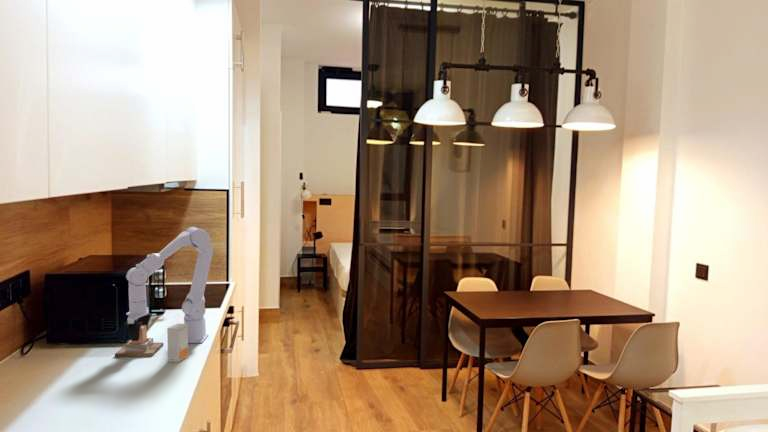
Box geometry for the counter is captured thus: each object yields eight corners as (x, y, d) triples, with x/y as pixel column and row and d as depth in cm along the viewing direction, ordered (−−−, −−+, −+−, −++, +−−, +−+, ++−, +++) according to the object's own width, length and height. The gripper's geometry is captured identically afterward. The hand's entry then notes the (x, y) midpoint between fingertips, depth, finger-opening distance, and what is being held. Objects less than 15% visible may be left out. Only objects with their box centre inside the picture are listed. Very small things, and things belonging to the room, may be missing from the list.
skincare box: (178, 362, 177) (177, 329, 176) (167, 361, 178) (166, 328, 177) (188, 356, 183) (187, 323, 182) (178, 355, 184) (177, 323, 183)
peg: (136, 346, 190) (135, 325, 189) (147, 345, 190) (146, 324, 190) (131, 350, 186) (130, 328, 185) (143, 349, 186) (142, 328, 186)
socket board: (127, 346, 193) (127, 336, 193) (163, 345, 194) (162, 336, 194) (114, 357, 182) (114, 347, 182) (152, 356, 183) (152, 346, 183)
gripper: (134, 295, 193) (135, 331, 195) (117, 306, 179) (119, 344, 180) (153, 295, 194) (155, 330, 195) (138, 305, 180) (140, 343, 181)
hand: (139, 337), depth 188 cm, fingers open, 7 cm apart
